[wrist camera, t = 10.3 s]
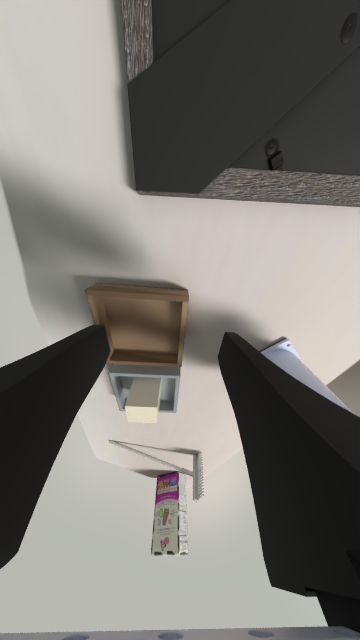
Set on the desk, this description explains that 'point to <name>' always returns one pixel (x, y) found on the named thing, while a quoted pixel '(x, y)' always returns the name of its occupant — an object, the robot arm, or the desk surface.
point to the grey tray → (125, 375)
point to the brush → (195, 474)
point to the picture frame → (245, 99)
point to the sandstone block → (144, 400)
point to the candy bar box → (170, 516)
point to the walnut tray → (141, 322)
